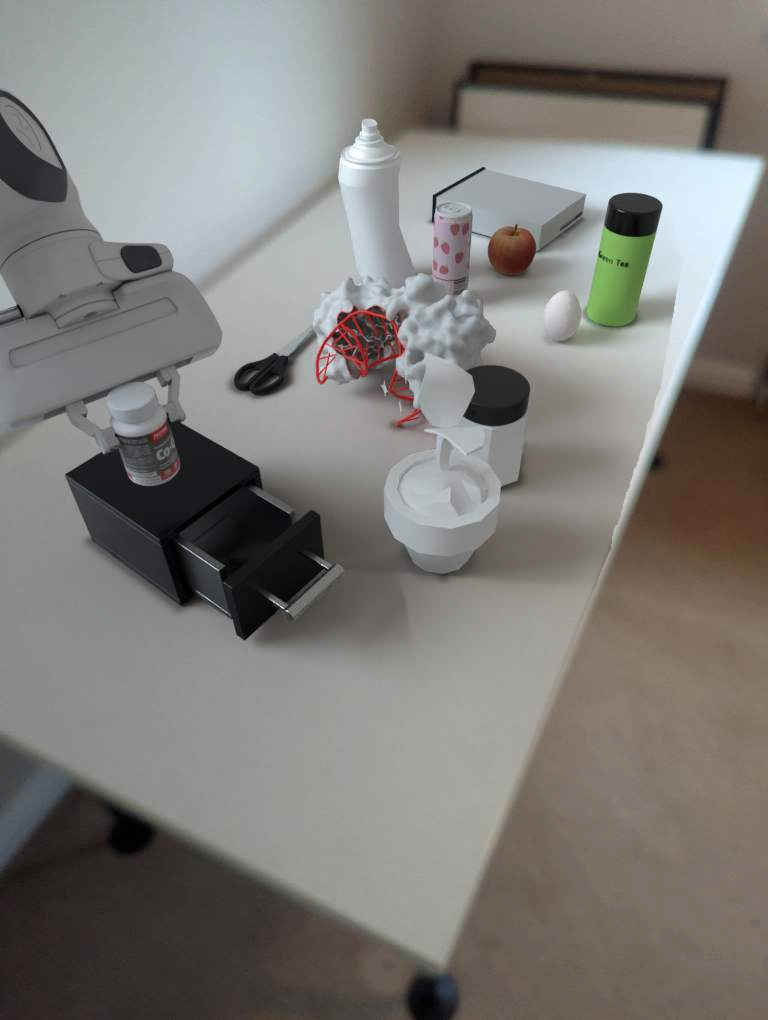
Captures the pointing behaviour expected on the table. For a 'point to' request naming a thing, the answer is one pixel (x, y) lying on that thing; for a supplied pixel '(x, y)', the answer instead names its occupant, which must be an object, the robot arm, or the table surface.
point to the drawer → (254, 559)
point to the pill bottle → (143, 434)
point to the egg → (562, 316)
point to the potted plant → (443, 478)
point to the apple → (511, 250)
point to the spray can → (374, 207)
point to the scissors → (270, 367)
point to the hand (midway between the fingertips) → (146, 436)
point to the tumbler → (623, 258)
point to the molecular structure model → (397, 330)
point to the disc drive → (514, 204)
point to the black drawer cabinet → (156, 504)
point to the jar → (499, 418)
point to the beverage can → (452, 246)
